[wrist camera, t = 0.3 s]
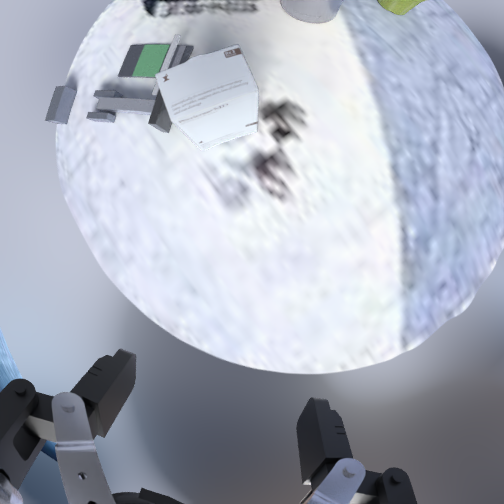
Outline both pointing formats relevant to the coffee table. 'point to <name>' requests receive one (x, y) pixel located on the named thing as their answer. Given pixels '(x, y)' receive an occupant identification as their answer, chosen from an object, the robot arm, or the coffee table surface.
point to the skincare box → (211, 97)
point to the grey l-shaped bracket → (144, 100)
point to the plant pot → (399, 5)
